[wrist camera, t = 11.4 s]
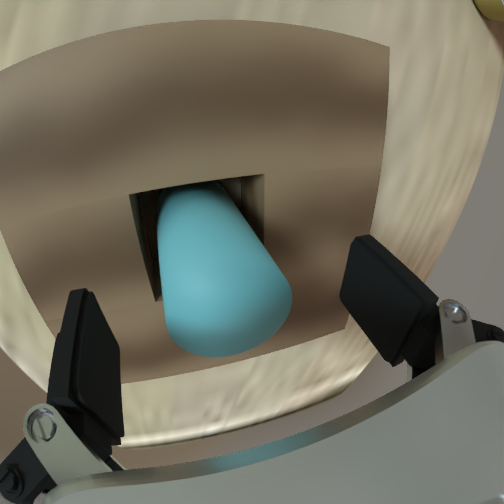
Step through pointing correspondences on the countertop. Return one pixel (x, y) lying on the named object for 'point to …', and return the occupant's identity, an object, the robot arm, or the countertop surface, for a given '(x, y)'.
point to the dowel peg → (216, 273)
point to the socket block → (190, 166)
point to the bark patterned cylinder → (491, 9)
